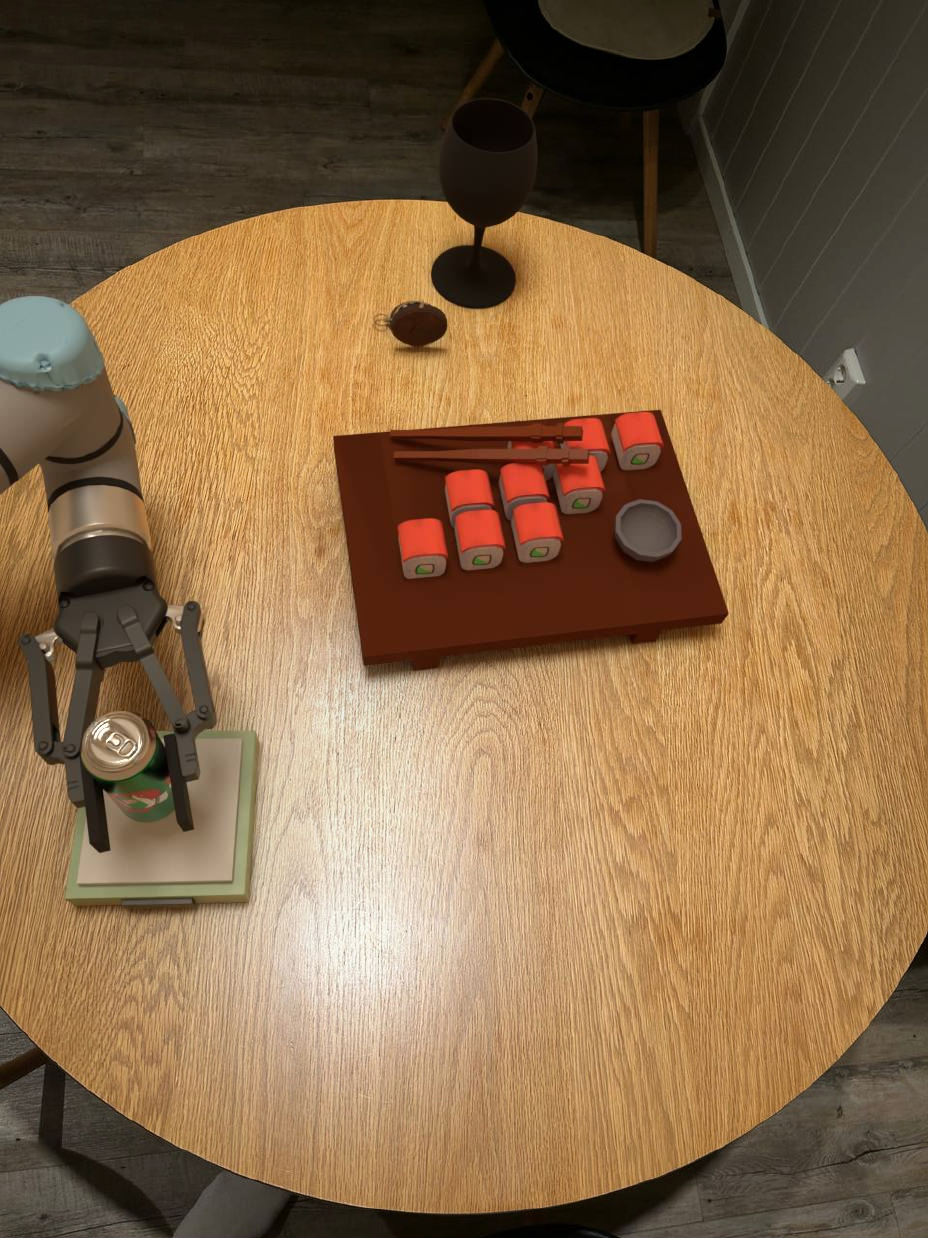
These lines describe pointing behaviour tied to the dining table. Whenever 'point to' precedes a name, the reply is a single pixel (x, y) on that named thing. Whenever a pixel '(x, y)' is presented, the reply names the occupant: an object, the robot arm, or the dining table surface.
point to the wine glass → (483, 195)
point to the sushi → (520, 536)
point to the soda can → (129, 764)
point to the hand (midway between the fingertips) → (143, 835)
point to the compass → (416, 322)
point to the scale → (177, 839)
